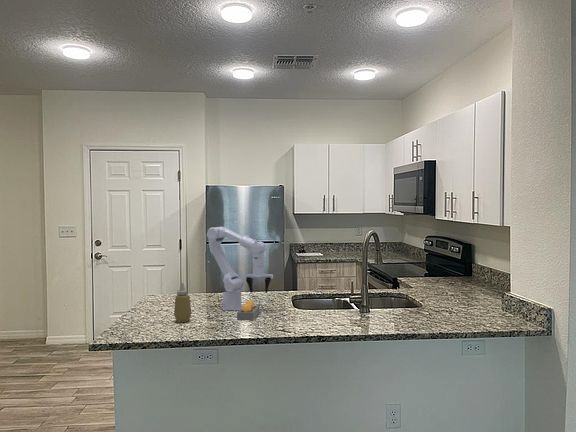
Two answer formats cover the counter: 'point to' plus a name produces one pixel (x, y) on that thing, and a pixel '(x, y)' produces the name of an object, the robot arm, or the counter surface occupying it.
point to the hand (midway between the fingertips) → (259, 292)
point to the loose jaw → (246, 307)
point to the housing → (248, 315)
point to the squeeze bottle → (182, 305)
